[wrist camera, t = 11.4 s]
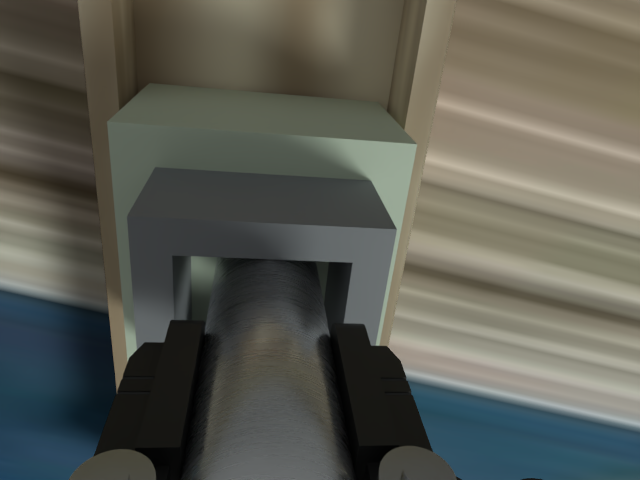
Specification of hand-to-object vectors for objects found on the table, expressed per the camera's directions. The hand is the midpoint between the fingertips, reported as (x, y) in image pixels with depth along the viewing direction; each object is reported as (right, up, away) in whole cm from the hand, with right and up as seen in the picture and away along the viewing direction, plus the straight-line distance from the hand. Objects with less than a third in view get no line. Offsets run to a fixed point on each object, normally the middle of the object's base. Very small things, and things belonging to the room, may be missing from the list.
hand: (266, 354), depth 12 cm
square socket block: (-1, +4, +10) cm, 11 cm away
